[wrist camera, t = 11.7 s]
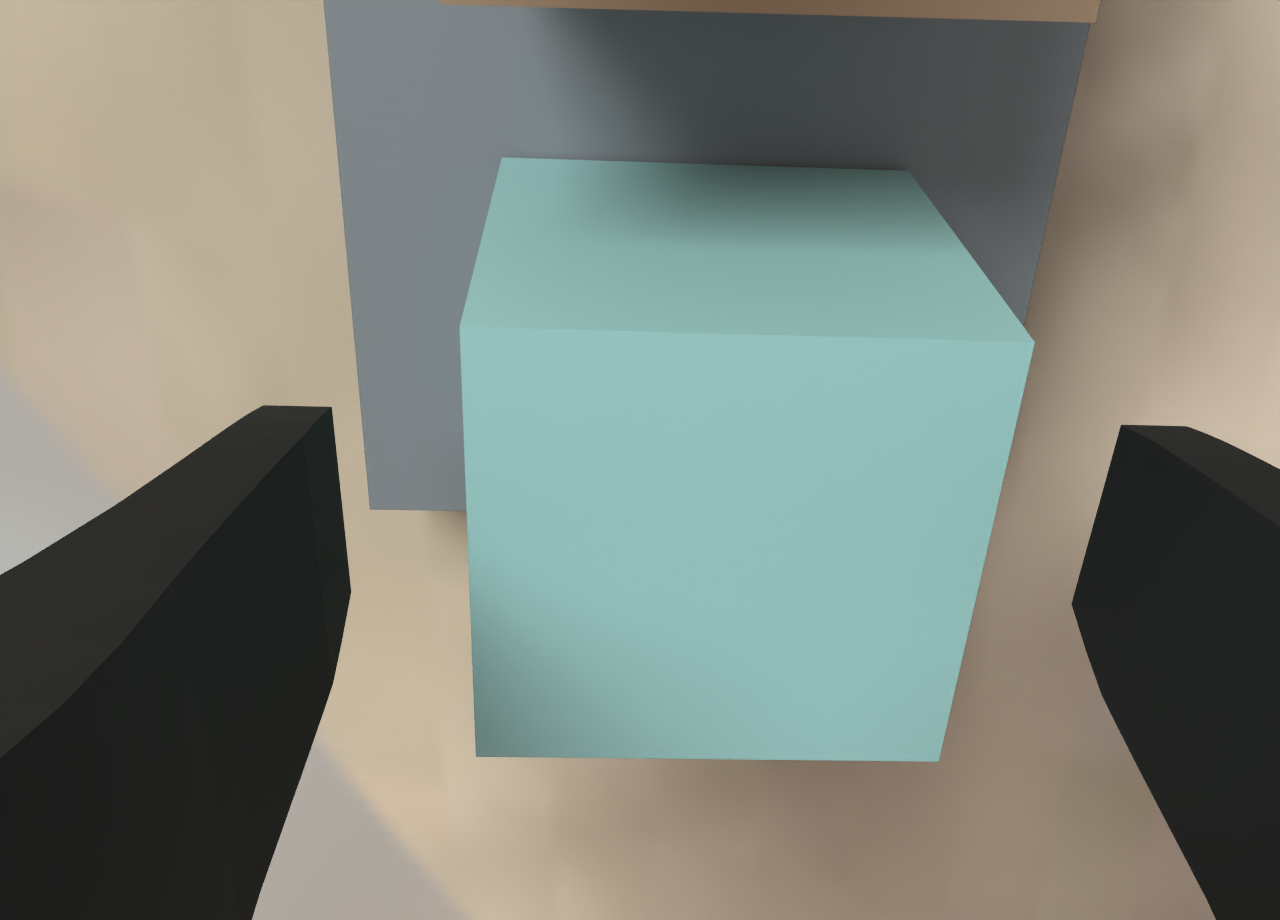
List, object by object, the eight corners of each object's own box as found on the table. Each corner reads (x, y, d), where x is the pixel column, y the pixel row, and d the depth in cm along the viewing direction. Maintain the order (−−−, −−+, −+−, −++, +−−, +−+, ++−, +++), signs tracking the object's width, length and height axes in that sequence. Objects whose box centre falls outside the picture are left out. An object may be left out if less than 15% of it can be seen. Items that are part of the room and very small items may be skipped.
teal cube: (909, 170, 13) (1035, 342, 9) (854, 510, 16) (938, 761, 12) (501, 157, 13) (459, 326, 9) (507, 504, 15) (476, 756, 11)
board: (1154, -647, 11) (1257, -721, 10) (944, 444, 17) (982, 523, 16) (306, -698, 11) (249, -785, 9) (392, 433, 17) (368, 512, 15)
